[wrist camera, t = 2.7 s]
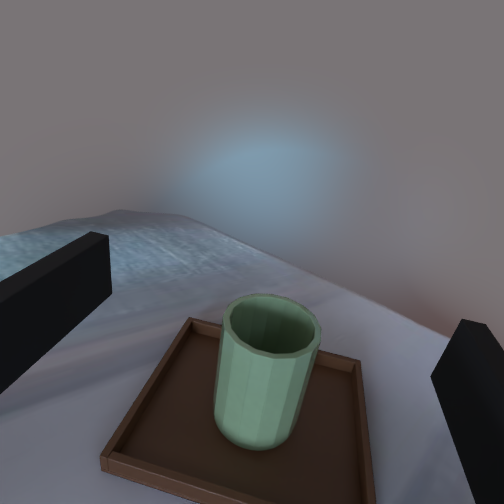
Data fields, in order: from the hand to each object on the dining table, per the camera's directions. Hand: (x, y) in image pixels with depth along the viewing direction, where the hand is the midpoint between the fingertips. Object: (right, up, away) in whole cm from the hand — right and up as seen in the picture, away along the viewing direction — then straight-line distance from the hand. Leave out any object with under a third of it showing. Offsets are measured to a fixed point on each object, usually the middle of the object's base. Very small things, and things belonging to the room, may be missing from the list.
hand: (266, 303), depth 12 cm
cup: (0, -12, +17) cm, 21 cm away
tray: (0, -12, +17) cm, 21 cm away
